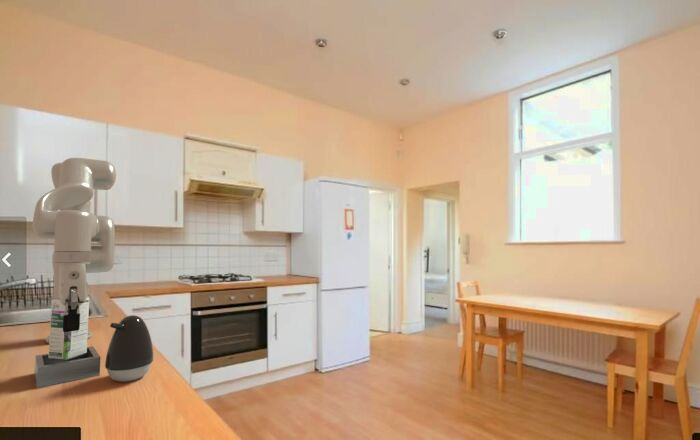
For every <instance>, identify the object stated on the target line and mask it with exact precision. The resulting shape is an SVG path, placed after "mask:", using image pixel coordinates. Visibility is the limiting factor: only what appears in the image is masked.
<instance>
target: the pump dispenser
mask: <svg viewBox="0 0 700 440" xmlns="http://www.w3.org/2000/svg"><path fill="white" fill-rule="evenodd" d="M110 328H113V329H115V330H114V331H113V334H112V336H111V338H110V342H109V344H108V347H107V352H106V355H105V362H104V363H105V364H104V367H105V369H106V371H107V374H108V376H109V377H110V378H111V379H112V380H113V381H116V382H120V383H121V382H123V383H125V382H126V383H127V382H132V381H136V380H139V379H140V378H142V377H144V376H145V375H147V373H148V372H149V371H150V368H151V367H152V363H153V362H154V348H153V341H152V337H151V334H150V330H149V329H148V327H147V324H146V322H145V321H144V319H143V318H142V317H141V316H138V315H131V314H130V315H127V316H126V317H124V318H122V319H121V320H120V321H119V323H118V322H117V323H116V322H111V323H110Z"/></svg>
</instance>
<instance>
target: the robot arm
mask: <svg viewBox="0 0 700 440" xmlns="http://www.w3.org/2000/svg"><path fill="white" fill-rule="evenodd" d="M50 171H51V172H50V174H51V179H52V181H51V182H52V184H53V187H54V189H52V190H49V191H47V192H46V193H44V195H42V196H41V197H40V198H39V199H38V201H37V202H36V205H35V207H34V212H33V219H32V230H33V234H35V236H37V237H38V238H41V239H44V240H45V239H49V240H54V247H53V252H52V256H51V261H52V262H51V264H52V268H53V269H52V271H53V299H57V298H60V300H61V304H63V305H65V315H64V316H63V332H70V331H78V330H79V328H80V314H79V312H80V310H79V301H81V302H82V301H83V302H82V303H85V302H86V298H89V293H90V290H89V287H90V286H89V284H88V282H87V274H95V273H98V274H99V273H106V272H110V271H111V270H113V268H114V265H115V246H116V244H115V243H116V241H115V240H116V229H115V227H116V226H115V222H114V220H113V219H112V218H111V217H110V216H106V215H95V214H94V213H93V212H91V206H92V202H91V200H92V198H93V196H94V190H98V191H99V190H101V191H109V190H111V189H112V188H113V187H114V185H115V183H116V178H117V172H116V168H115V166H114V165H113V163H112V162H110V161H108V160H103V159H91V158H84V157H83V158H82V157H70V158H67V159H65V160H63V161H62V162H58V163H54V165H52V166H51V170H50ZM92 243H98V245H92ZM79 299H80V300H79ZM68 300H71V302H67V301H68ZM92 336H93V332H92V331H91V330H88V334H87V340H88V339H90V338H91V337H92ZM49 340H50V335H48V336H47V337H45V340H44V341H45V343H46V344H49Z"/></svg>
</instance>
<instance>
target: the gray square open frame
mask: <svg viewBox="0 0 700 440" xmlns="http://www.w3.org/2000/svg"><path fill="white" fill-rule="evenodd" d="M48 355H49V353H42V354H37V355H35V362H34V378H35V386H36V389H38V388H43V387H44V388H45V387H48V386H49V387H50V386H53V385H58V384H63V383H68V382H73V381H78V380H82V379H88V378H92V377H96V376H97V377H99V376H100V375H101V356H100V354H99V353H98V351H97V350H96V348H95V347H94V346H87V353H85V354H82V355H79V356H76V357H73V358H70V359H67V360H64V359H54V358H48Z"/></svg>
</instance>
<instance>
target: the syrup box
mask: <svg viewBox="0 0 700 440" xmlns="http://www.w3.org/2000/svg"><path fill="white" fill-rule="evenodd" d="M79 300H80V299H79ZM67 302H71V300H68V301H67ZM82 302H83V301H82ZM82 302H81V301H79V310H80V312H79V314H80V328H79V330H78V331H70V332H63V316H64V315H65V305H63V304H61V300H60V298H57V299H54V298H53V299H52V300H51V306H50V307H51V308H50V309H51V311H50V323H49V324H50V326H49V336H50V340H49V343H48V354H49V355H48V358H54V359H64V360H67V359H70V358H73V357H76V356H79V355H82V354H85V353H87V347H88V339H87V334H88V331H89V330H88V329H89V317H90V316H89V315H90V314H89V312H90V311H89V310H90V297H88V298H86V302H85V303H82Z"/></svg>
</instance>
